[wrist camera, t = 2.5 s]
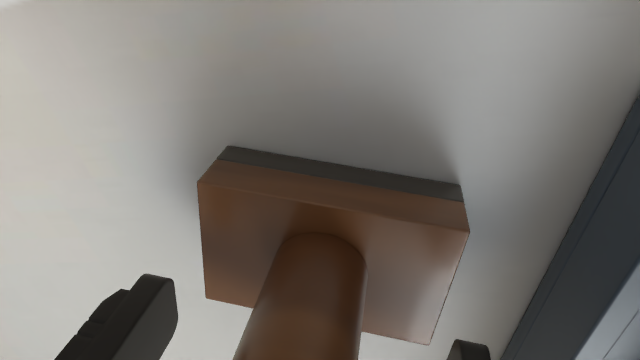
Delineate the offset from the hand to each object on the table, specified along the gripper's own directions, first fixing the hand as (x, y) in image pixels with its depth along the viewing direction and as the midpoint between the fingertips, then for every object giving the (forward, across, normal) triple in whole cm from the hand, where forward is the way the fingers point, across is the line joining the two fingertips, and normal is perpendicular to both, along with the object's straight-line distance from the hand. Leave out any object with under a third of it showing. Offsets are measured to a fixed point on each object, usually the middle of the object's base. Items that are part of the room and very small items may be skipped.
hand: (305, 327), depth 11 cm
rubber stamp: (+5, 0, 0) cm, 5 cm away
